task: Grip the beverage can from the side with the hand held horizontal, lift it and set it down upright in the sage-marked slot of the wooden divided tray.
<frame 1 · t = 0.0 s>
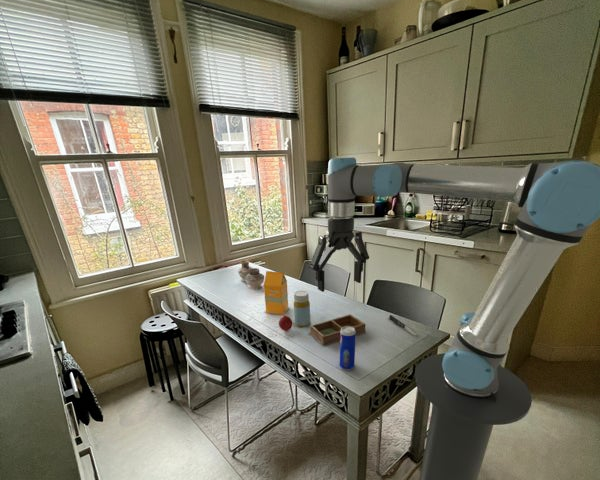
hand: (339, 285, 99), 31 cm above the table, tool pointing down, fingers open, 13 cm apart
kitchen knife: (402, 328, 136), on the table
wooden divided tray: (337, 333, 133), on the table
pottery: (251, 284, 190), on the table
onion: (286, 331, 136), on the table
beverage can: (346, 366, 112), on the table
orange juice: (277, 310, 156), on the table
bottle: (302, 324, 142), on the table
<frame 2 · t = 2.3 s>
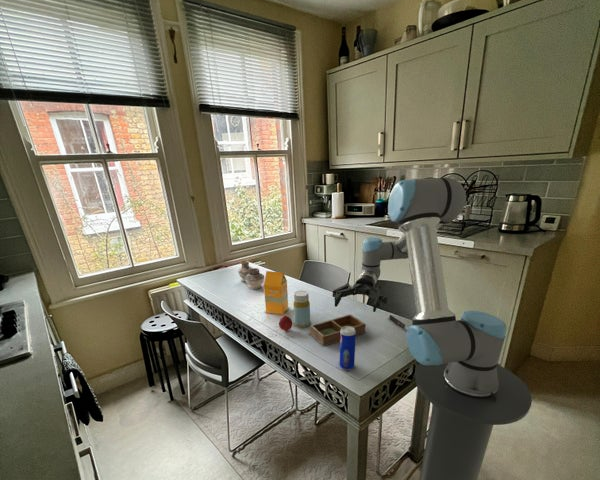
hand: (354, 305, 110), 20 cm above the table, tool horizontal, fingers open, 13 cm apart
nothing on the table moved.
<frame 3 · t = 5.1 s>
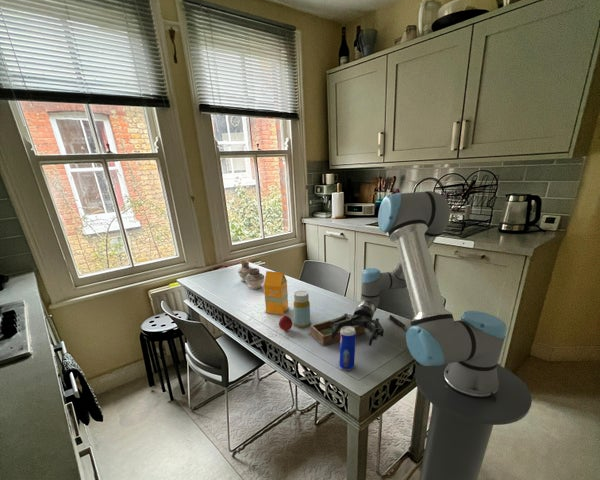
hand: (351, 338, 112), 9 cm above the table, tool horizontal, fingers open, 13 cm apart
nothing on the table moved.
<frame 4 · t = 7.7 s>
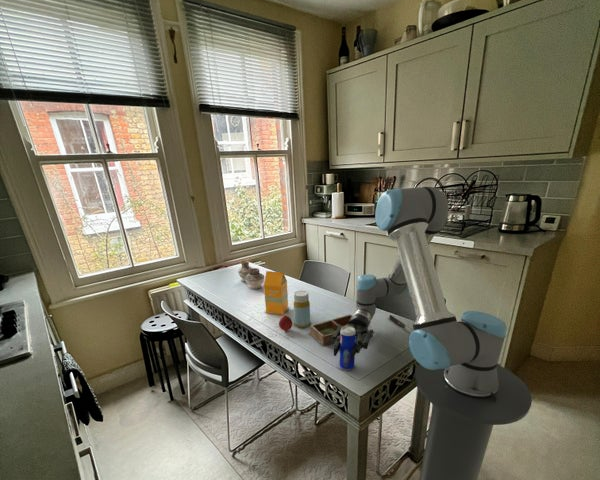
hand: (343, 354, 104), 8 cm above the table, tool horizontal, fingers closed on beverage can, 5 cm apart
beverage can: (346, 366, 112), on the table, touching gripper
everything else where it was.
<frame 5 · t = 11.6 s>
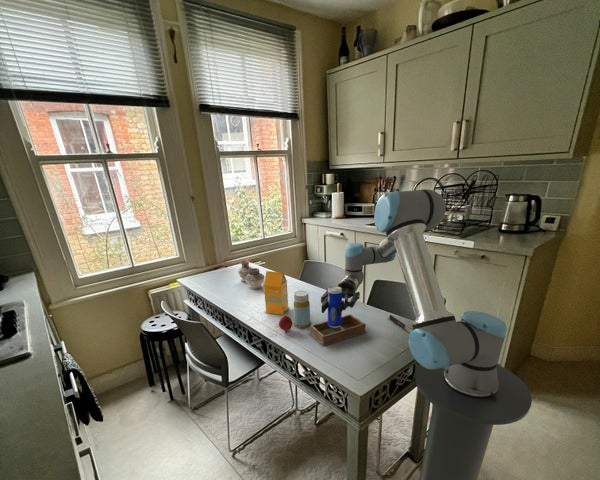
hand: (330, 310, 112), 18 cm above the table, tool horizontal, fingers closed on beverage can, 5 cm apart
beverage can: (334, 325, 120), point 9 cm above the table, touching gripper
everything else where it was.
when the fingers open (9 cm above the table, at t = 15.5 s): beverage can stays where it is, resting on wooden divided tray.
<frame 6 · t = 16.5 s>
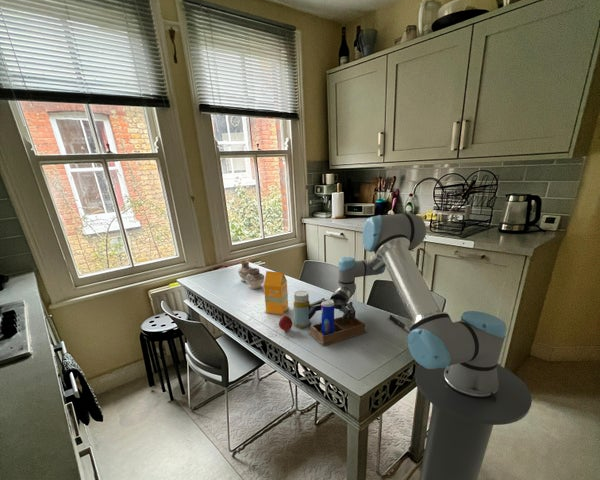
hand: (325, 319, 124), 10 cm above the table, tool horizontal, fingers open, 13 cm apart
beverage can: (327, 335, 131), point 1 cm above the table, touching wooden divided tray
everything else where it was.
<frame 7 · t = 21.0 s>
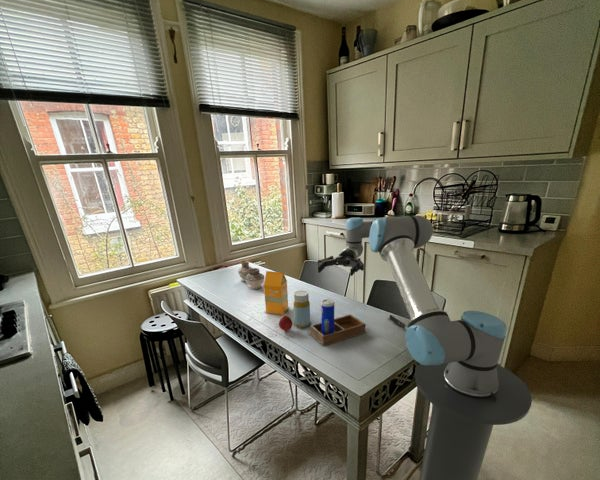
hand: (334, 271, 127), 26 cm above the table, tool horizontal, fingers open, 13 cm apart
nothing on the table moved.
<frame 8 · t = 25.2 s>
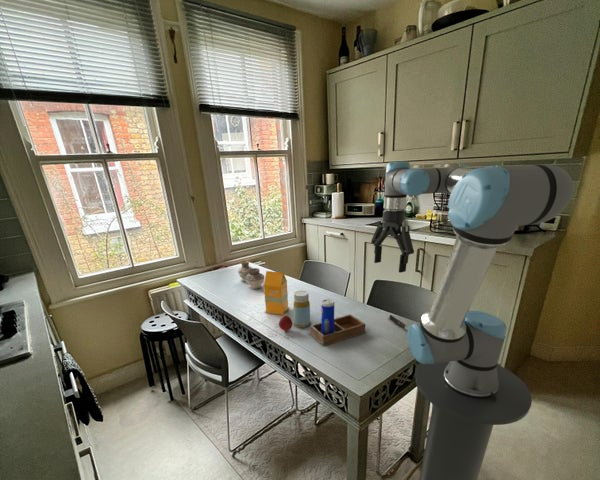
hand: (389, 266, 120), 29 cm above the table, tool pointing down, fingers open, 13 cm apart
nothing on the table moved.
at the end: beverage can 0.1 cm from the target spot in the wooden divided tray, point 0.6 cm above the wooden divided tray's base; beverage can tilted 0°; the gripper is holding nothing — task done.
